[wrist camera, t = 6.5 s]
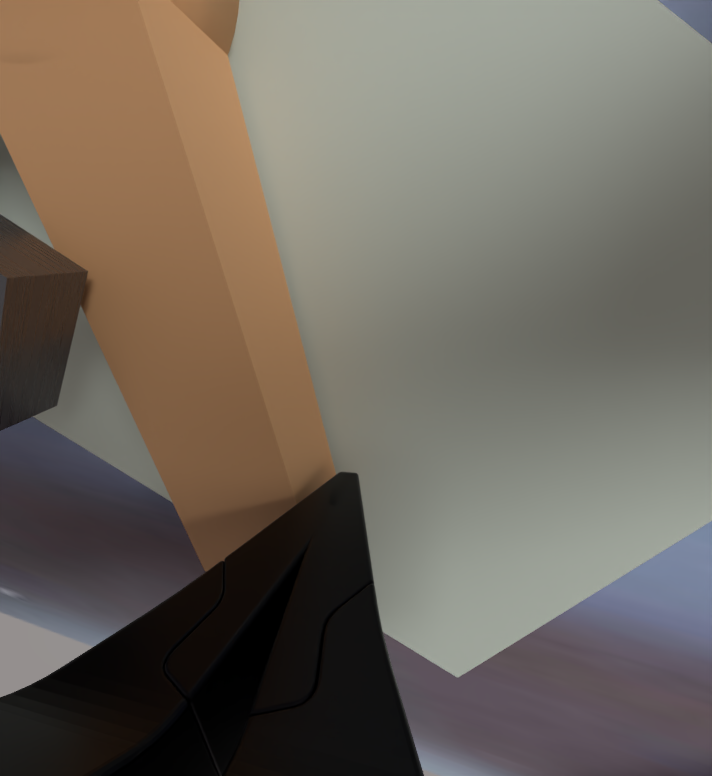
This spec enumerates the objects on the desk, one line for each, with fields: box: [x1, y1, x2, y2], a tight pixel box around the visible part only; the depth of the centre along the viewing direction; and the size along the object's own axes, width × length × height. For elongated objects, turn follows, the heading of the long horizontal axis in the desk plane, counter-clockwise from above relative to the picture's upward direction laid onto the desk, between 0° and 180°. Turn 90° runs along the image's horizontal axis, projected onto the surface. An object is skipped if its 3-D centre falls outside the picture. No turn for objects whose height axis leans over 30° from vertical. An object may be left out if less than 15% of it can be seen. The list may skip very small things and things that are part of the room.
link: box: [0, 0, 336, 571], centre depth 7 cm, size 14×4×2 cm, turn 12°
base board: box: [0, 0, 712, 678], centre depth 9 cm, size 16×22×2 cm
